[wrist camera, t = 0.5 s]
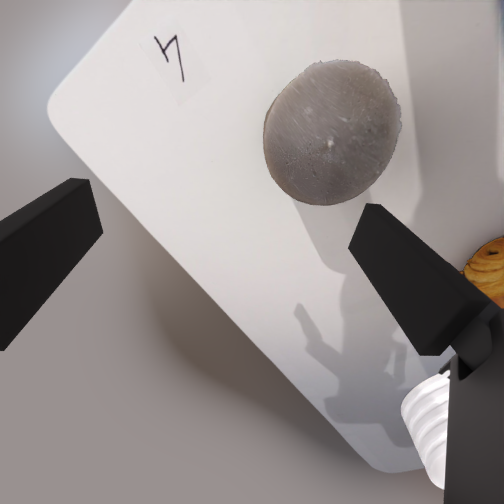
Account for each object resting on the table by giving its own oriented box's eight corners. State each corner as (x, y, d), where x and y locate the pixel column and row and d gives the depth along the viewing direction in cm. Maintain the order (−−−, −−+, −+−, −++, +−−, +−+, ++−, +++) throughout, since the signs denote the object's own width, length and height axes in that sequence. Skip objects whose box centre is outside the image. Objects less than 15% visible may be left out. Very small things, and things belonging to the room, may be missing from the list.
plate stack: (577, 376, 49) (657, 444, 39) (483, 442, 63) (524, 504, 53) (446, 351, 47) (495, 415, 37) (379, 424, 61) (401, 485, 51)
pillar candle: (284, 184, 33) (296, 233, 20) (249, 110, 29) (236, 110, 16) (356, 148, 30) (425, 176, 17) (329, 61, 26) (392, 11, 13)
